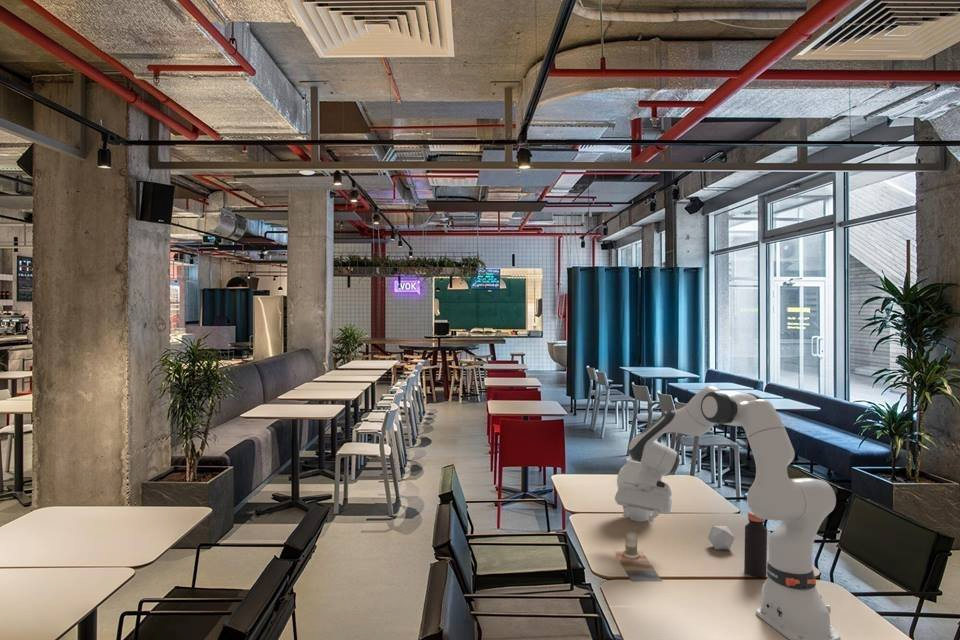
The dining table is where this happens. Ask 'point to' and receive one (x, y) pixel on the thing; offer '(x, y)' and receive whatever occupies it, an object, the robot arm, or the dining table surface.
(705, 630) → the dining table surface
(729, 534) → the die
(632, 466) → the vase
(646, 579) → the game board
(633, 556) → the pawn
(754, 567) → the bottle
